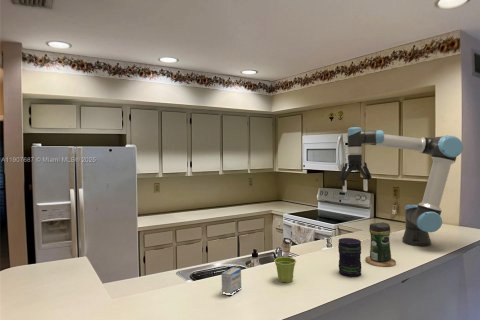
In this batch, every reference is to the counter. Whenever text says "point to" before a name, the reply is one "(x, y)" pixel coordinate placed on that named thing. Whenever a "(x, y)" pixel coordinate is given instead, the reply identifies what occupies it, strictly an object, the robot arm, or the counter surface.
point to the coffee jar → (380, 242)
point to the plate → (381, 264)
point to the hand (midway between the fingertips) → (355, 191)
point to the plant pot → (285, 268)
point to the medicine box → (231, 280)
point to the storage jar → (349, 257)
